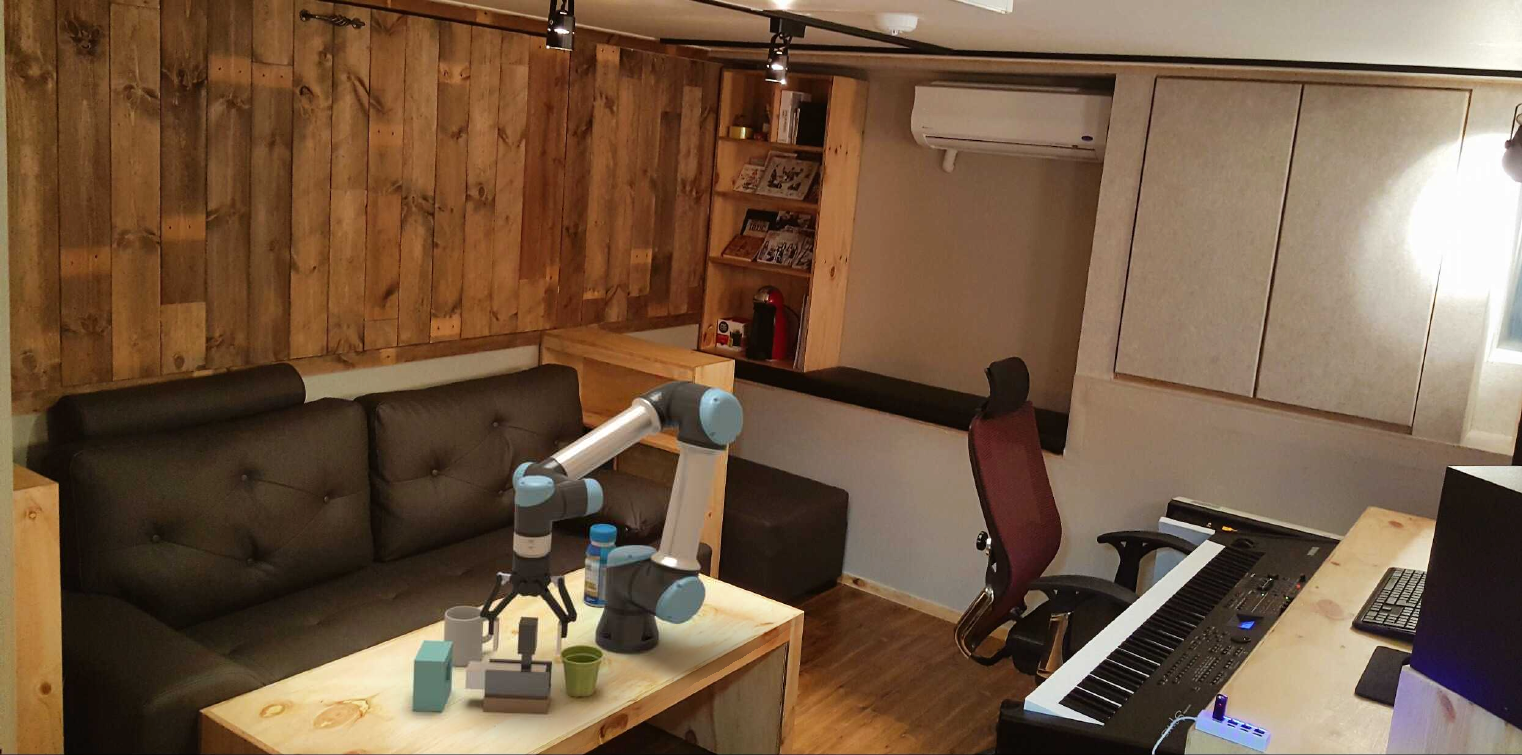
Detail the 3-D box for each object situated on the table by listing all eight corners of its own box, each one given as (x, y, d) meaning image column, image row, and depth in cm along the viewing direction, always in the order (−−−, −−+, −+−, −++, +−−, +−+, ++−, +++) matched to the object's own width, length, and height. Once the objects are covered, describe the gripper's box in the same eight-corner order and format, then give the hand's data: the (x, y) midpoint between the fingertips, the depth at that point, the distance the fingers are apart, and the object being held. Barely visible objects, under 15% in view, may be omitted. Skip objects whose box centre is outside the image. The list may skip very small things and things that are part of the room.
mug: (455, 670, 265) (457, 623, 263) (435, 656, 271) (437, 610, 268) (502, 657, 273) (504, 611, 271) (482, 644, 279) (484, 599, 277)
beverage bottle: (613, 609, 306) (617, 534, 302) (580, 606, 306) (584, 531, 302) (617, 597, 314) (622, 524, 311) (585, 594, 314) (589, 521, 311)
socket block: (451, 690, 255) (453, 641, 253) (442, 711, 245) (444, 661, 243) (422, 688, 254) (424, 640, 252) (412, 710, 245) (414, 660, 243)
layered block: (550, 696, 256) (552, 659, 254) (546, 713, 248) (548, 675, 246) (488, 693, 255) (490, 656, 253) (483, 711, 247) (484, 672, 245)
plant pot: (582, 705, 253) (584, 667, 251) (548, 692, 258) (550, 654, 256) (610, 690, 261) (613, 653, 259) (577, 678, 266) (579, 641, 264)
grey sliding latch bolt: (545, 683, 253) (549, 617, 250) (543, 692, 249) (547, 625, 246) (468, 679, 252) (471, 614, 249) (465, 688, 248) (467, 622, 245)
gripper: (468, 554, 241) (464, 655, 245) (590, 561, 243) (585, 660, 247) (474, 542, 248) (470, 640, 252) (593, 548, 250) (587, 645, 254)
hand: (527, 650), depth 249 cm, fingers open, 12 cm apart
